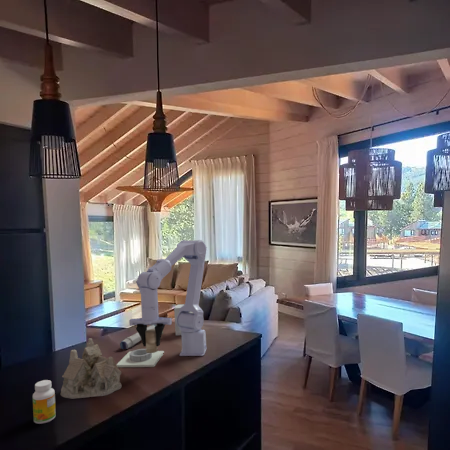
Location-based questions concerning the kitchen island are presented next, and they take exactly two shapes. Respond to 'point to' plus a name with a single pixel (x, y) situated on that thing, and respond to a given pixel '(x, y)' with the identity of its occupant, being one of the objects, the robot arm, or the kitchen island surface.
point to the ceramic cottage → (90, 374)
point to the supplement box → (176, 312)
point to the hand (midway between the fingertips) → (151, 345)
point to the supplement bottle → (44, 402)
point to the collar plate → (140, 364)
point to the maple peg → (151, 341)
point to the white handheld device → (133, 339)
